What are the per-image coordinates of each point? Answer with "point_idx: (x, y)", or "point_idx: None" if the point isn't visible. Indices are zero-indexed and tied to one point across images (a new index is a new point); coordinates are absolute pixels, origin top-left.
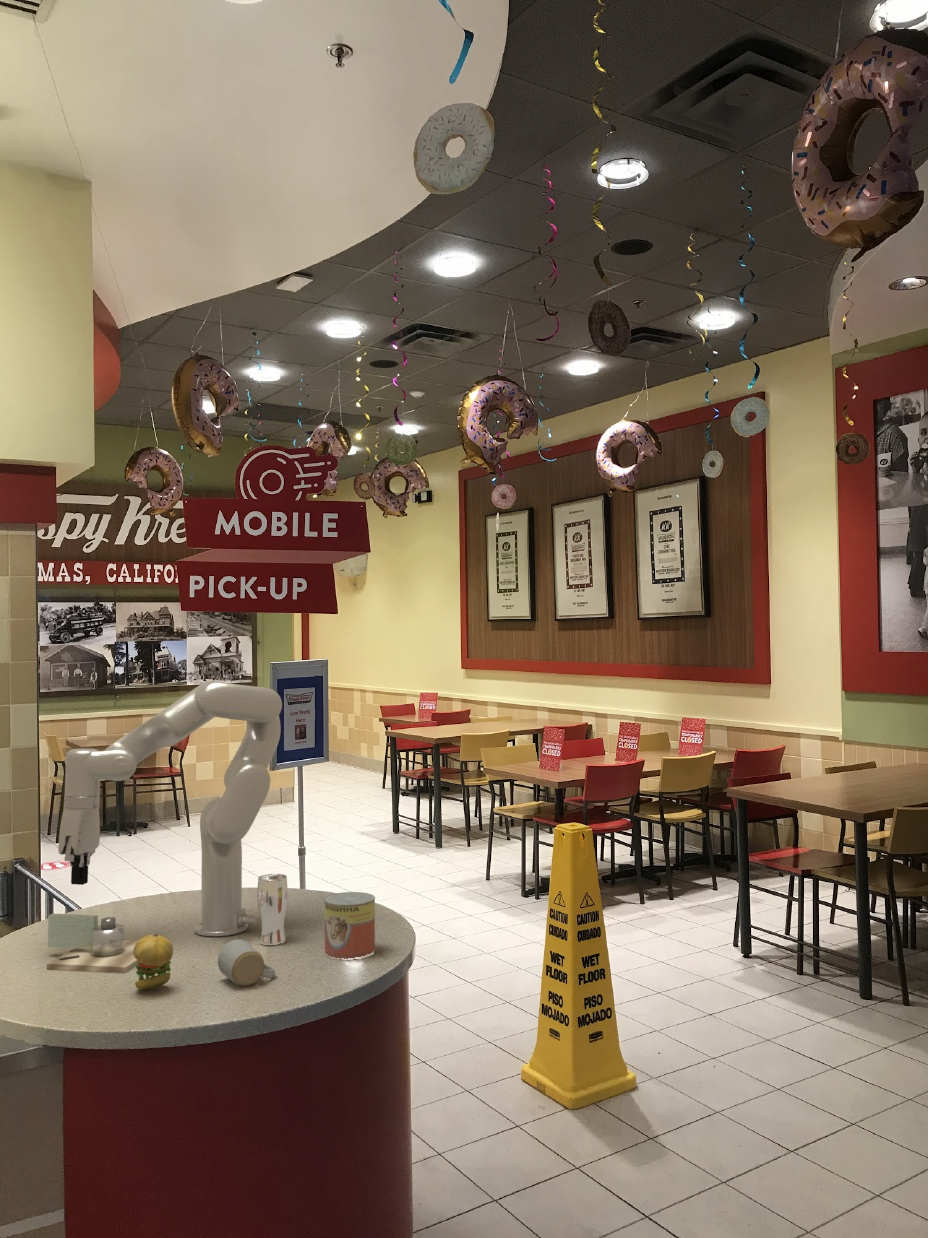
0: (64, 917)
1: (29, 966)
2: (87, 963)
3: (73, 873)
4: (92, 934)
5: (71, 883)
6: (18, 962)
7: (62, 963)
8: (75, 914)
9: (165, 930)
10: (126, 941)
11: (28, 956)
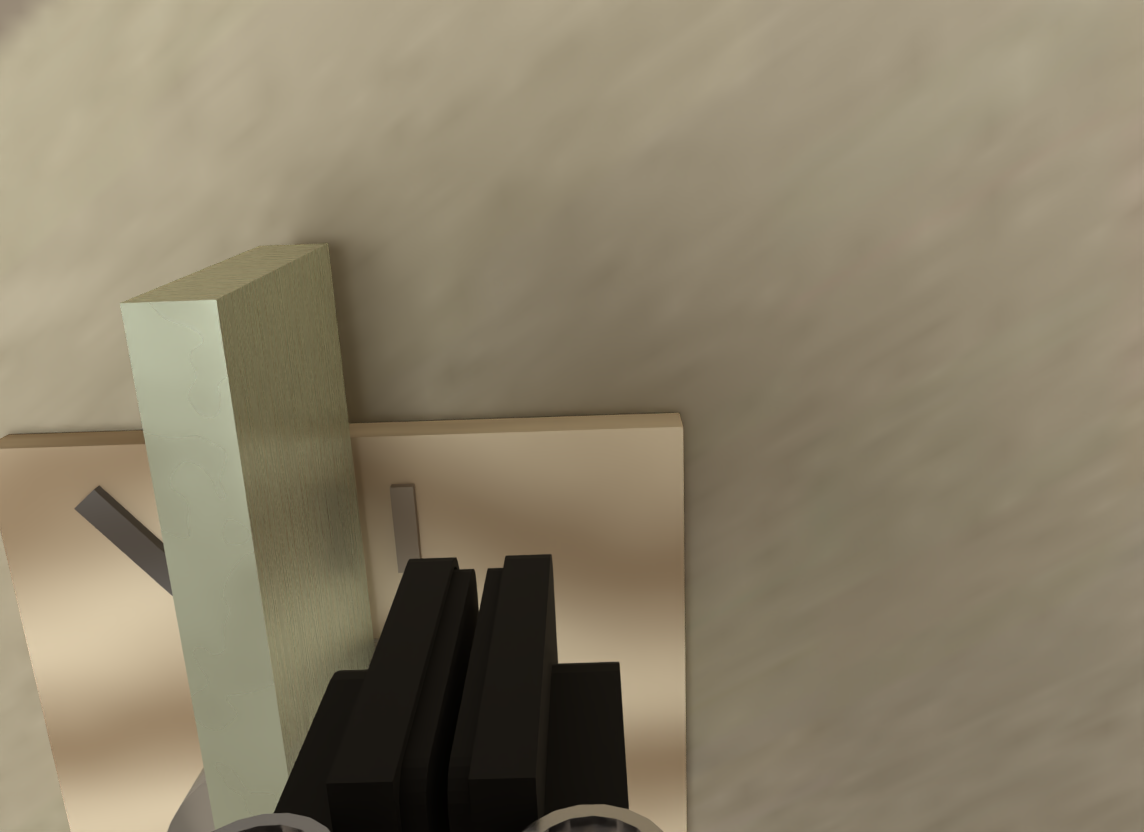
0: (165, 518)
1: (26, 244)
2: (92, 737)
3: (300, 771)
4: (191, 787)
5: (412, 562)
6: (79, 70)
7: (26, 568)
8: (259, 608)
9: (1130, 769)
10: (654, 732)
11: (248, 43)
